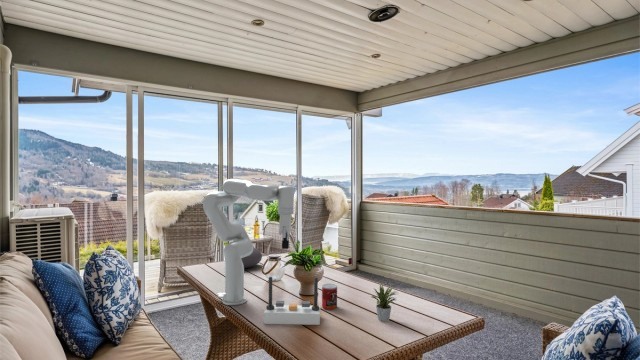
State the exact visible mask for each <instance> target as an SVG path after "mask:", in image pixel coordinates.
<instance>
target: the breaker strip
mask: <svg viewBox="0 0 640 360" xmlns="http://www.w3.org/2000/svg"><path fill="white" fill-rule="evenodd" d="M273 305H274V309H273V310H267V309H266V308H265V310H264V312H263V317H264V318H263V323H264V325H305V326H306V325H313V326H315V325H319V326H320V324H321V309H320V310H319V311H313V310H312V306H313V305H310V307H302V304H301V305H299V304H297V310H289V304H284V307H276V304H273ZM318 306H319V307H320V308H321V305H318Z"/></svg>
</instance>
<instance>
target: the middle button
mask: <svg viewBox="0 0 640 360" xmlns="http://www.w3.org/2000/svg"><path fill="white" fill-rule="evenodd" d="M288 305H289V310H297V305H298V303H289V304H288Z"/></svg>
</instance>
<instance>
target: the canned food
mask: <svg viewBox="0 0 640 360" xmlns="http://www.w3.org/2000/svg"><path fill="white" fill-rule="evenodd" d="M321 307H322V309H324V310H328V311H332V310H336V309H337V307H338V285H337V284H335V283H324V284H322V286H321Z"/></svg>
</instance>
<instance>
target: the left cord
mask: <svg viewBox="0 0 640 360" xmlns="http://www.w3.org/2000/svg"><path fill="white" fill-rule="evenodd" d="M274 305H275V304H273V277H272V276H269V277H268V304H267V305H266V306H265V307H266V308H265V310H266V309H267V310H273V309H274Z"/></svg>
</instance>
